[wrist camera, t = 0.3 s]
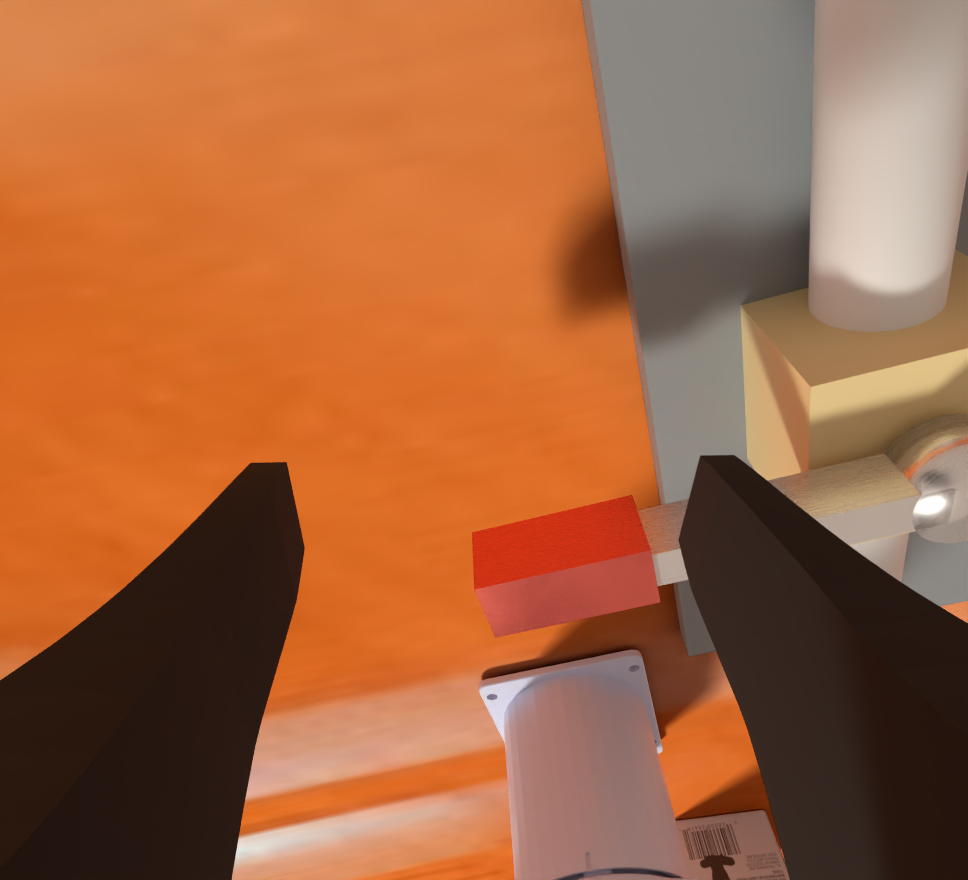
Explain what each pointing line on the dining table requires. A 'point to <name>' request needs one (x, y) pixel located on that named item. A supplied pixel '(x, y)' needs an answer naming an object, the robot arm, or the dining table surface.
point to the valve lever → (655, 531)
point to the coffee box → (732, 847)
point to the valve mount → (791, 236)
